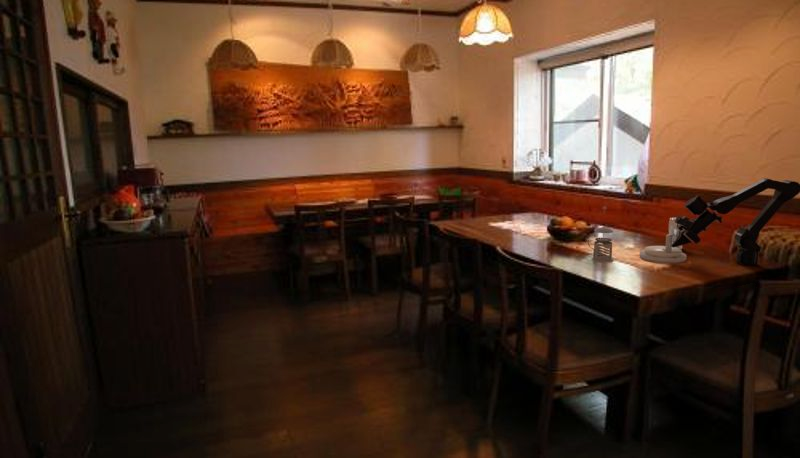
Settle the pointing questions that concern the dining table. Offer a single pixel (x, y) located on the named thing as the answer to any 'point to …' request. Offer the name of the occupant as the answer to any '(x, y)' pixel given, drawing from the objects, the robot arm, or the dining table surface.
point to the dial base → (663, 258)
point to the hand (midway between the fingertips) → (672, 246)
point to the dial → (664, 249)
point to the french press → (605, 243)
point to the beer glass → (674, 230)
